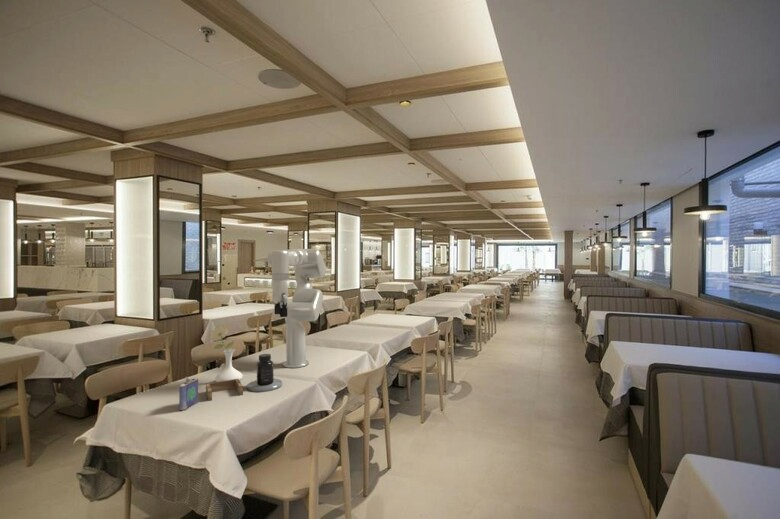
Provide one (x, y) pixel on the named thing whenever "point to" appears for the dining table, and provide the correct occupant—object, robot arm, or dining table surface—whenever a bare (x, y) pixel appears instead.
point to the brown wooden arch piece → (223, 387)
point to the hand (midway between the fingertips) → (280, 315)
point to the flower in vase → (229, 371)
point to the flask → (188, 393)
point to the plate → (258, 388)
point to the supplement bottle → (265, 370)
